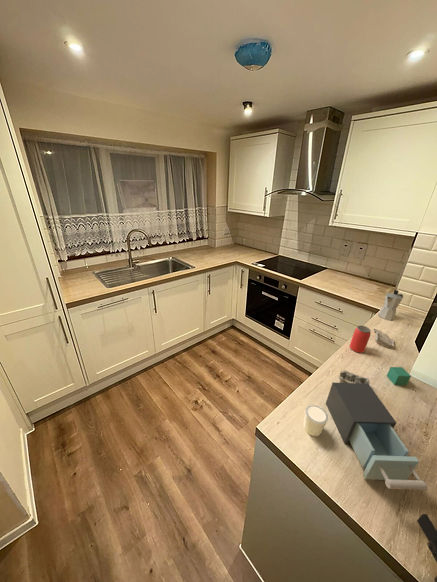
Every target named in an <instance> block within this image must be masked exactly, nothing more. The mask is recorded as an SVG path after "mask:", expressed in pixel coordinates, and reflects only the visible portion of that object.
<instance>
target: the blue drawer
mask: <svg viewBox="0 0 437 582" xmlns="http://www.w3.org/2000/svg"><path fill="white" fill-rule="evenodd" d="M349 441H350V443H351V444H350V445H351V447H352V449H353V451H354V453H355V455H356V457H357V460H358V461H359V464H360V467H361V468H362V469H364V471H363V472H362V476H363V478H364V480H376V481H377V480H378V481H379V480H380V481H381V480H383V481H384V482H385V486H386V487H387V489H388V490H415V491H417V490H418V491H420V490H421V491H427V490H428V485H427V483H426V481H424V480H422V479H421V477H419V475H418V473H417V471H416V470H415V469H416V467H417V466H418V464H419V463H420V460H419V459H418V457H417V456H408V454H409V453H410V450H409V448H407V446H406V444H405V443H404V442H403V440H402V438H401V437H400V436H399V435H398V433H397V432H396V431H395V429H394V428H393V427H392V426H391V425H390V424H366V423H356V424H355V426H354V428H353V431H352V433H351V435H350V438H349ZM411 475H413V476H414V478H415V479H409V477H410V476H411Z"/></svg>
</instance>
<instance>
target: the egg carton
mask: <svg viewBox="0 0 437 582" xmlns="http://www.w3.org/2000/svg"><path fill="white" fill-rule="evenodd" d="M338 383H363V384H369V385H370V378H368V377H363V376H360V375H359V374H355V373H352V372H350V371H349V370H340V373H339V376H338Z"/></svg>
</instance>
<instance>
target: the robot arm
mask: <svg viewBox="0 0 437 582" xmlns="http://www.w3.org/2000/svg"><path fill="white" fill-rule="evenodd" d="M416 522H417V523H418V525H419V527H420V529H421V530H422V532H423V534H424V535H425V537H426V540H427V541H428V542H427V544H426V545H427V548H428V550H429V551H430V553H431V555H432V557H433V559H434V561H435V562H436V563H437V528H436V527H435V525H434V523H433V522H432V521H431V519H430V517H429V516H428V514H427V513H422V514H421V515H420V516H419V518H418V519H417V520H416ZM433 581H434V582H437V575H435V576H434V578H433Z"/></svg>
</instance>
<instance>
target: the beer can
mask: <svg viewBox="0 0 437 582" xmlns="http://www.w3.org/2000/svg"><path fill="white" fill-rule="evenodd" d="M370 338H371V329H370V328H369V327H368V326H366V325H357V326H356V328H355V329H354V331H353V335H352V338H351V340H350V344H349V348H350V350H352V351H353V352H355V353H361V354H362V353H364V352H365V350H366V348H367V346H368V343H369V340H370Z"/></svg>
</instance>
